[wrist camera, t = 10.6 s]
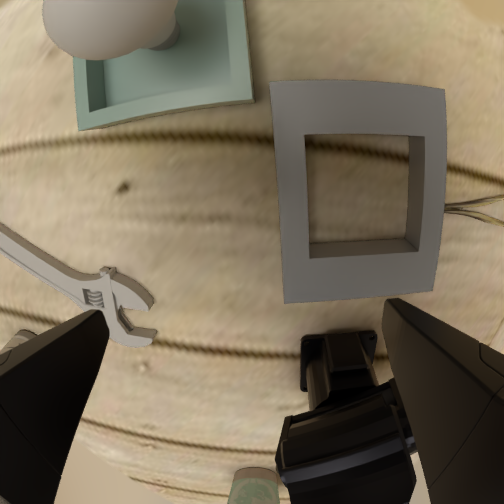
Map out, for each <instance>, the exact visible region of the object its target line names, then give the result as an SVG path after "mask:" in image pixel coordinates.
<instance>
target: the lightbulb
mask: <svg viewBox="0 0 504 504" xmlns="http://www.w3.org/2000/svg"><path fill="white" fill-rule="evenodd" d="M177 2H178V0H43V9H42V16H43V22H44V26H45V29H46V32H47V34H48V36H49V37H50V38H51V40H52V41H53V42H54V43H55V44H56V45H57V47H58V48H60V49H62V50H63V51H65V52H66V53H68V54H70V55H71V56H74V57H78V58H81V59H86V60H105V59H112V58H118V57H121V56H124V55H127V54H129V53H131V52H133V51H135V50H137V49H139V48H141V49H147V48H148V49H150V50H155V51H161V50H165V49H167V48H169V47H171V46H172V45H173V44H174V43H175V42H176V41H177V40H178V38H179V35H180V26H179V24H178V22H177V20H176V18H175V13H174V10H175V8H176V5H177Z"/></svg>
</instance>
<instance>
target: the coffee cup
mask: <svg viewBox="0 0 504 504" xmlns="http://www.w3.org/2000/svg"><path fill="white" fill-rule="evenodd" d="M227 504H280V501H279V493H278V485H277V477H276V474H275V473H274V472H272V471H270V470H268V469H263V468H244V469H241V470H238V471H237V472H236V473H235V476H234V480H233V483H232V487H231V491H230V495H229V499H228V502H227Z"/></svg>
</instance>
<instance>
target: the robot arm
mask: <svg viewBox="0 0 504 504" xmlns="http://www.w3.org/2000/svg"><path fill="white" fill-rule="evenodd" d="M382 331H383V335H384V339H385V343H386V348H387V352H388V356H389V361H390V365H391V369H392V372H393V375H394V378H392V379H390V380H389V381H388V382H386V383H383V384H381V385H379V383H378V380H377V377H376V374H375V371H374V368H373V366H372V364H373V359H374V354H375V348H376V343H377V334H376V332H375V331H362V332H352V333H342V334H330V335H317V336H306V337H303V338H302V339H301V362H300V389H301V391H303V392H308V399H309V409H310V411H308V412H305V413H301V414H298V415H295V416H292V415H291V416H287V417H285V420H284V424H283V428H282V432H281V436H280V440H279V444H278V448H277V452H276V456H275V462H276V464H277V465H276V471H277V472H278V473H279V475H280V478H281V480H282V482H283V484H284V485H285V487H286V488H287V489H288V492H289V496H290V501H291V504H409V502H410V499H411V496H412V493H413V491H414V487H415V484H416V475H415V471H414V467H413V464H412V460H411V457H410V455H412V454H414V453H416V452H418V454H419V458H420V461H421V465H422V468H423V472H424V476H425V480H426V484H427V488H428V489H429V490H428V493H429V497H430V502H431V504H504V355H503V354H501V353H500V352H498V351H496V350H494V349H492V348H490V347H488V346H487V345H485V344H483V343H479V341H478V340H476V339H474V338H472V337H470V336H469V335H467V334H465V333H463V332H461V331H459V330H458V329H456V328H454V327H452V326H450V325H448V324H447V323H445V322H443V321H441V320H439V319H437V318H435V317H434V316H432V315H430V314H428V313H426V312H424V311H422V310H420V309H419V308H417V307H415V306H413V305H411V304H409V303H407V302H405V301H403V300H402V299H400V298H391V299H387V300H386V301H385V303H384V310H383V317H382ZM109 336H110V331H109V327H108V325H107V322H106V319H105V316H104V314H103V312H102V311H101V310H99V309H90V310H88V311H86V312H84V313H82V314H80V315H78V316H76V317H74V318H72V319H70V320H68V321H66V322H64V323H62V324H60V325H58V326H56V327H54V328H52V329H50V330H48V331H46V332H44V333H42V334H40V335H38V336H36V337H34V338H32V339H30V340H28V341H26V342H24V343H22V344H20V345H18V346H16V347H14V348H13V349H10V350H8V351H6V352H4V353H2V354H0V504H54V501H55V497H56V493H57V490H58V487H59V483H60V480H61V475H62V472H63V469H64V466H65V463H66V460H67V457H68V453H69V450H70V448H71V444H72V441H73V439H74V436H75V433H76V430H77V427H78V425H79V422H80V419H81V416H82V414H83V411H84V408H85V406H86V403H87V400H88V398H89V395H90V393H91V390H92V388H93V385H94V383H95V380H96V378H97V375H98V372H99V369H100V366H101V363H102V359H103V356H104V353H105V350H106V346H107V343H108V340H109ZM370 336H373V337H371V338H370ZM305 342H309V343H305Z"/></svg>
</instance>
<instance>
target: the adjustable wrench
mask: <svg viewBox="0 0 504 504" xmlns="http://www.w3.org/2000/svg"><path fill="white" fill-rule="evenodd" d="M0 253H1V254H2V255H4V256H5V257H6V258H8V259H9V260H11V261H12V262H14V263H15V264H17V265H18V266H20V267H21V268H23V269H24V270H26V271H27V272H29V273H30V274H32V275H33V276H35V277H37V278H38V279H40V280H41V281H43V282H44V283H46V284H48V285H49V286H51V287H53V288H54V289H56V290H58V291H59V292H61V293H63V294H64V295H66V296H67V297H69V298H70V299H71V300H72V301H73V302H75V303H76V304H77V305H78V306H79V307H80V308H81V309H82V310H83V311H84V312H86V311H88V310H90V309H99V310H101V311H102V312H103V314H104V316H105V319H106V322H107V325H108V327H109V331H110V336H109V337H110V338H111V339H112V340H114V341H115V342H117V343H119V344H121V345H124V346H128V347H134V348H138V347H145V346H147V345H149V344H151V342H152V341H153V339H154V337H155V335H156V332H157V330H152V329H145V328H139V327H133V326H132V325H131V324H130V323H129V321H128V320H127V319H126V317H125V316H124V314H123V313H122V307H123V308H129V309H136V310H142V311H149V310H150V308H151V307H152V305H153V298H152V296H151V295H150V294H149V293H148V292H147V291H146V290H145V289H144V288H143V287H142V286H141V285H140V284H138V283H137V282H135V281H134V280H132V279H130V278H128V277H126V276H124V275H122V274H120V273H116V267H114V268H111V269H110V270H109V268H107V267H105V268H101V269H100V274H93V275H89V274H83V273H80V272H77V271H75V270H73V269H71V268H70V267H68V266H66V265H65V264H63V263H61V262H60V261H58V260H56V259H55V258H53V257H52V256H50V255H48V254H47V253H45V252H44V251H42V250H40V249H39V248H37V247H36V246H34V245H33V244H31V243H29V242H28V241H26V240H25V239H23V238H22V237H20V236H19V235H17V234H16V233H14V232H13V231H11V230H10V229H9V228H7V227H6V226H4V225H3V224H1V223H0ZM121 305H122V306H121Z"/></svg>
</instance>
